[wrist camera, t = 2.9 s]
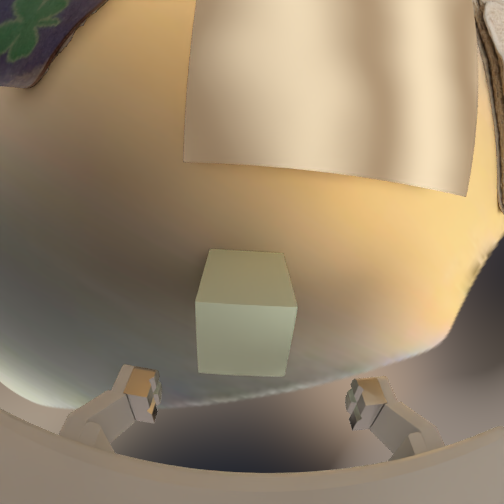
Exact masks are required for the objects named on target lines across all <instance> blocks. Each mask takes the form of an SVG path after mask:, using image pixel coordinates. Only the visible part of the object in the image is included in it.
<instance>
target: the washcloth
mask: <svg viewBox="0 0 504 504" xmlns="http://www.w3.org/2000/svg"><path fill="white" fill-rule="evenodd" d="M472 4H473V10H474V18H475V27H476V37H477V42H478V45H479V49H480V53H481V56H482V60H483V63H484V69H485V73H486V78H487V83H488V89H489V95H490V101H491V108H492V115H493V122H494V131H495V141H496V156H497V195H498V203H499V207H500V209H501V211H502V213H503V214H504V0H472Z"/></svg>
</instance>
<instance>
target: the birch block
mask: <svg viewBox="0 0 504 504" xmlns="http://www.w3.org/2000/svg"><path fill="white" fill-rule="evenodd" d="M477 108H478V52H477V37H476V27H475V18H474V10H473V4H472V0H197V1H196V8H195V16H194V24H193V32H192V41H191V50H190V60H189V71H188V83H187V96H186V111H185V129H184V152H183V162H192V163H220V164H239V165H255V166H268V167H280V168H291V169H301V170H311V171H319V172H328V173H336V174H343V175H351V176H358V177H365V178H371V179H378V180H384V181H390V182H396V183H401V184H407V185H412V186H417V187H422V188H427V189H432V190H437V191H442V192H446V193H451V194H455V195H460V196H464V197H466V195H467V190H468V184H469V179H470V173H471V167H472V160H473V152H474V144H475V135H476V123H477Z"/></svg>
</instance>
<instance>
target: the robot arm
mask: <svg viewBox="0 0 504 504" xmlns="http://www.w3.org/2000/svg"><path fill="white" fill-rule="evenodd" d="M159 377H160V375H159V371H158V370H153V369H148V368H142V367H137V366H131V365H126V364H124V365H123V366H122V368H121V370H120V372H119V374H118V376H117V379H116V381H115V383H114V385H113V387H112V389H111V391H109V390H107V391H106V392H104V393H103V394H101V395H99V396H98V397H96V398H94V399H93V400H91V401H90V402H88V403H86V404H85V405H83V406H81V407H80V408H78V409H76V410H75V411H73V412H71V413H70V414H69V415H68V417H67V419H66V421H65V423H64V425H63V427H62V429H61V431H60V433H59V435H57V434H55V433H52V432H50V431H47V430H45V429H42V428H40V427H38V426H35V425H33V424H31V423H29V422H27V421H25V420H22V419H20V418H18V417H16V416H14V415H12V414H10V413H8V412H6V411H4V410H2V409H0V504H504V427H503V426H497V427H495V428H493V429H490V430H488V431H485V432H483V433H480V434H478V435H475V436H473V437H470V438H467V439H465V440H462V441H459V442H456V443H454V444H451V445H447V446H445V444H444V442H443V440H442V438H441V436H440V433H439V431H438V429H437V427H436V426H435V425H433V424H432V423H430V422H429V421H427V420H426V419H425V418H423V417H421V416H420V415H419V414H417V413H416V412H415V411H413V410H412V409H410V408H409V407H407V406H406V405H404V404H403V403H402V402H398V401H397V398H396V396H395V394H394V392H393V389H392V387H391V385H390V383H389V380H388V378H387V377H386V376H382V377H370V378H358V379H354V380H353V381H352V383H351V387H352V389H350V390H349V391H348V392H347V395H346V401H345V403H346V410H347V412H349V413H350V414H351V416H350V418H349V421H350V424H351V428H352V430H363V429H370V431H371V432H373V434H374V435H375V436H376V437H377V438H378V439H379V440H380V441H382V443H383V444H385V446H386V447H387V448H388V449H389V450H391V452H392V453H393V455H392V457H391V458H390V459H389V460H388V461H387V462H382V463H377V464H371V465H365V466H359V467H352V468H344V469H336V470H327V471H315V472H299V473H238V472H222V471H210V470H201V469H193V468H185V467H178V466H172V465H166V464H161V463H155V462H150V461H145V460H141V459H136V458H131V457H128V456H124V455H119V454H116V453H115V452H114V450H113V448H112V447H111V445H110V443H111V442H112V441H113V440H115V439H116V438H117V437H118V436H119V435H120V434H122V433H123V432H124V431H125V430H126V429H127V428H128V427H130V426H131V425H132V424H133V423H134V422H135V420H136V421H142V422H148V423H155V419H156V416H157V412H158V411H157V407H156V406H157V405H159V404H160V402H161V397H162V385H161V383H160V382H159Z"/></svg>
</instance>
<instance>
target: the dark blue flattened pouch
mask: <svg viewBox="0 0 504 504" xmlns="http://www.w3.org/2000/svg"><path fill="white" fill-rule="evenodd" d="M106 1H108V0H0V86H6V87H18V88H28V87H32V86H33V85H35V84H36V83H37V82H38V81H39V80H40V79H41V78H42V77H43V76H44V74H46V72H47V71H48V70H49V68H48V66H49V65H50V63H51V62H52V61H53V60H54V59H55V57H56V56H57V55H58V54H59V53H61V51H62V50H63V49H64V48H65V47H67V44H68V43H69V42H70V41H71V39H72V36H73V35H74V32H75V30H76V29H77V28H78V27H79V26H83V25H84V23H85V21H86V19H87V18H88V17H89V16H90V15H91V14H93V13H94V12H96V11H97V10H98V9H99V8H100V6H102V5H103V4H104V3H105V2H106Z"/></svg>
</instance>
